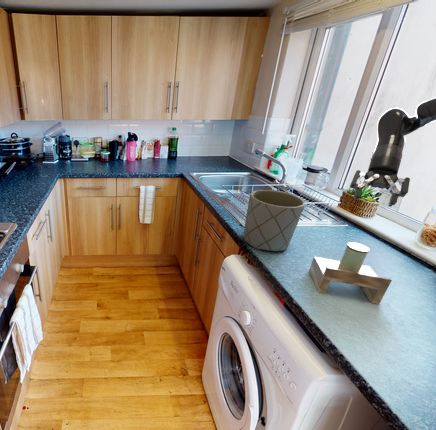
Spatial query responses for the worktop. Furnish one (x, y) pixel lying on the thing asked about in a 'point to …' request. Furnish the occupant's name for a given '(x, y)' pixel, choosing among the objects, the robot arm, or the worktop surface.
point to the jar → (353, 257)
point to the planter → (272, 219)
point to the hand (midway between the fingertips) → (373, 202)
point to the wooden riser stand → (348, 278)
